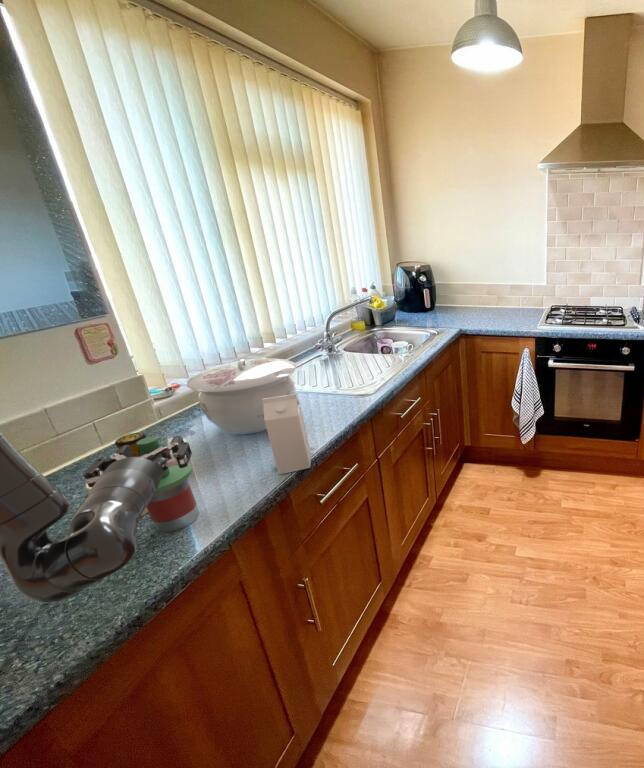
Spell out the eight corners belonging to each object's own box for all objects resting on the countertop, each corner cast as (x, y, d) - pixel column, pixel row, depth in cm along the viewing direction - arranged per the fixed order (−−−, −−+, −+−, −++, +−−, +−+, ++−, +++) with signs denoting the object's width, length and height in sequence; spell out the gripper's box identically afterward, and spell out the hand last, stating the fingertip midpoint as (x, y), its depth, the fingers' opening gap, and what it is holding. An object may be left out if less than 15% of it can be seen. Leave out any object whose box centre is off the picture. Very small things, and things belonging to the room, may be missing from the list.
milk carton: (281, 460, 105) (264, 393, 97) (311, 454, 107) (296, 388, 100) (278, 475, 98) (260, 404, 91) (310, 468, 101) (295, 399, 94)
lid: (122, 500, 74) (103, 458, 71) (139, 473, 82) (123, 435, 79) (186, 486, 78) (171, 446, 75) (196, 462, 86) (183, 424, 83)
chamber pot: (235, 456, 107) (213, 383, 99) (185, 431, 119) (162, 366, 112) (327, 415, 129) (315, 353, 122) (276, 398, 142) (262, 341, 134)
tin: (151, 537, 79) (132, 495, 75) (161, 515, 85) (144, 475, 81) (196, 525, 82) (180, 484, 78) (202, 504, 88) (188, 466, 84)
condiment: (142, 474, 99) (124, 431, 95) (180, 471, 100) (164, 428, 96) (120, 492, 92) (100, 447, 88) (161, 488, 94) (143, 443, 89)
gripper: (172, 459, 67) (192, 419, 81) (54, 483, 61) (98, 435, 75) (185, 496, 70) (203, 452, 84) (74, 522, 64) (113, 470, 78)
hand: (153, 444), depth 79 cm, fingers open, 7 cm apart
